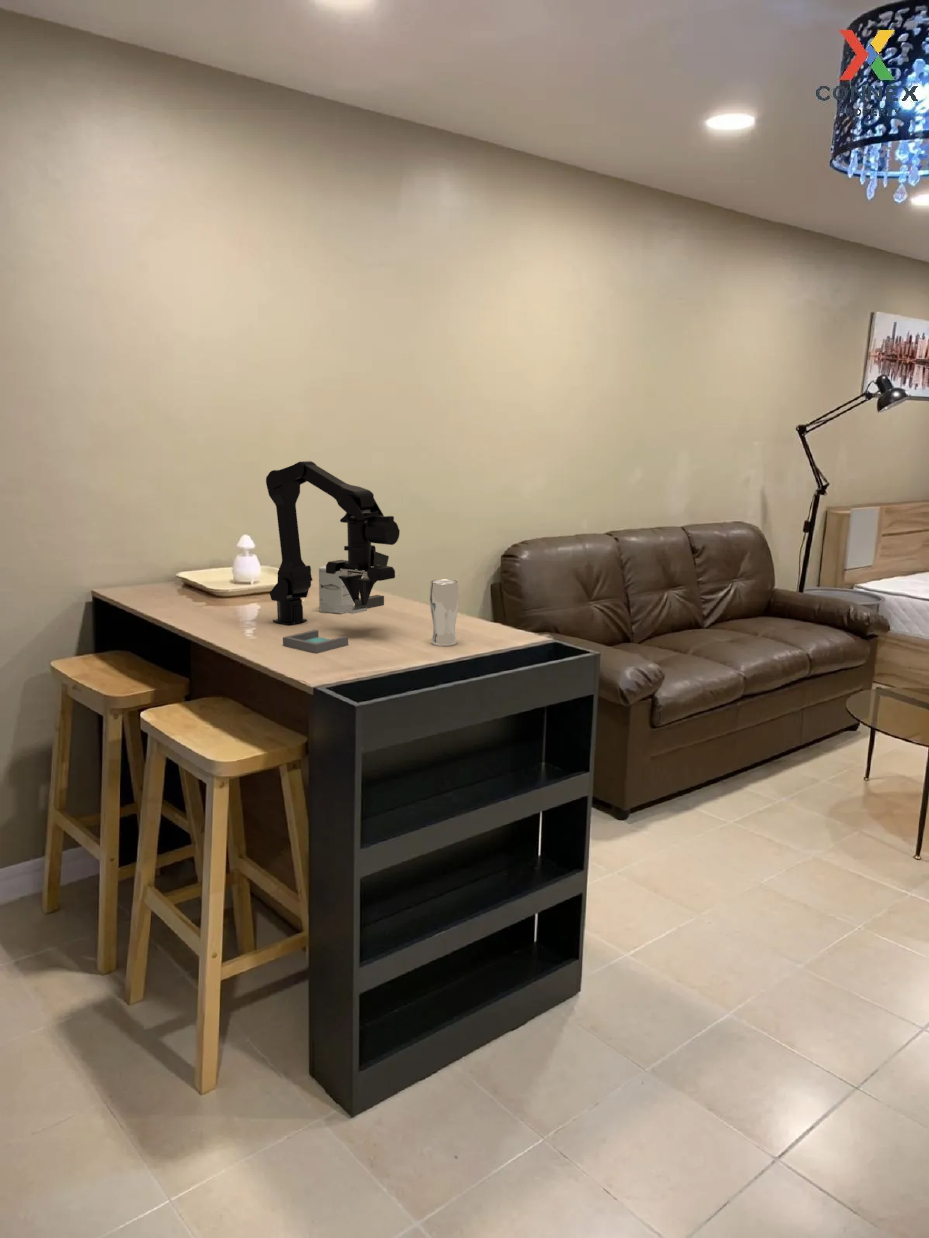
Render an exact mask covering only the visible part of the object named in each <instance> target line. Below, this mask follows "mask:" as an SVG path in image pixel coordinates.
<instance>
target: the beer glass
mask: <svg viewBox="0 0 929 1238" xmlns="http://www.w3.org/2000/svg"><path fill="white" fill-rule="evenodd" d="M429 585H430V586H429V609H430V614H431V616H430V617H431V620H432V621H431V622H432V628H433V629H432V636H431V644H432V645H433V644H434V645H433V646H438V647H450V646H456V644H457V643H458V640H457V635H456V624H457V618H458V613H459V605H460V604H459V603H460V598H459V597H460V593H459V581H458V580H456V579H449V578H446V579H443V578H441V579H432V580H430V584H429Z"/></svg>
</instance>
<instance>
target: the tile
mask: <svg viewBox="0 0 929 1238" xmlns="http://www.w3.org/2000/svg"><path fill="white" fill-rule="evenodd" d="M327 640H331V639H328V638H324V637H320V636H319V637H316V638H312V639H308V640H305V641H309V642H314V643H318V642H323V641H327Z"/></svg>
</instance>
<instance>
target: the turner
mask: <svg viewBox="0 0 929 1238" xmlns="http://www.w3.org/2000/svg"><path fill="white" fill-rule="evenodd" d="M383 606H385V595H381V594H374V595H370V596H369V599H368V602H367V605H362V602H361V597H359V598H358V599H355V604H354V605H345V606H340V607H335V611H340V612H345V613H346V614H352V615H354V614H358V613H363V612H367V611H368V610H369V609H373V608H377V607H383ZM345 613H344V614H345Z"/></svg>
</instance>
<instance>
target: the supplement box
mask: <svg viewBox="0 0 929 1238" xmlns="http://www.w3.org/2000/svg"><path fill="white" fill-rule="evenodd" d="M339 576H341V571H337V572H336V573H335V574H330V573H326V565H322V566H320V567H318V596H319V597H318V598H319V599H318V601H319V604H318V605H319V609H318V610H319V613H323V612H324V613H330V614H331V613H332V614H339V615H343V614H345V612H340V611H335V607H340V606H345V605H355V604H354V602H353V600H352V598H351V596H350V594H349V592H348V590H347V588H346V586H345V585H344V583H343V581H342V580H341V579H340V578H339Z"/></svg>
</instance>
